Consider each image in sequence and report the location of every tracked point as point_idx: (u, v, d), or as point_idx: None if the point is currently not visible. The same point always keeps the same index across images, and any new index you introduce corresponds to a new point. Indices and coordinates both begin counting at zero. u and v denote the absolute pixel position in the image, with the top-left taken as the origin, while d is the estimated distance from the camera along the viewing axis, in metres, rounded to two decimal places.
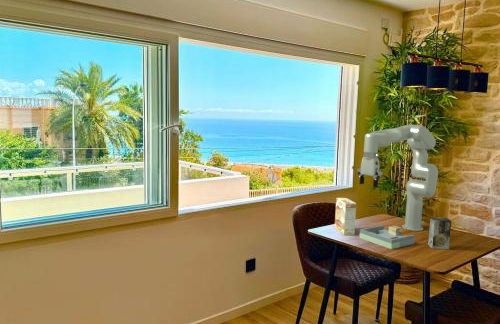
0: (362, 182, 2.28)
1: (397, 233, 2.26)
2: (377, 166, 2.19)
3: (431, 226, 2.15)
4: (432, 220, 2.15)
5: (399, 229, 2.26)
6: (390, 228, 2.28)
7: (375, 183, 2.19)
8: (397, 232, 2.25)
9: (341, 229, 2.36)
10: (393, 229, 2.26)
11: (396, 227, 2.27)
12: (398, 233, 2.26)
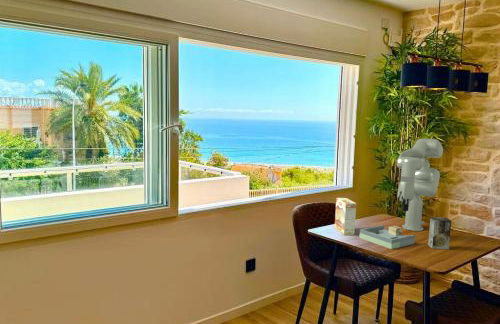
0: None
1: (397, 233, 2.26)
2: None
3: (431, 226, 2.15)
4: (432, 220, 2.15)
5: (399, 229, 2.26)
6: (390, 228, 2.28)
7: None
8: (397, 232, 2.25)
9: (341, 229, 2.36)
10: (393, 229, 2.26)
11: (396, 227, 2.27)
12: (398, 233, 2.26)
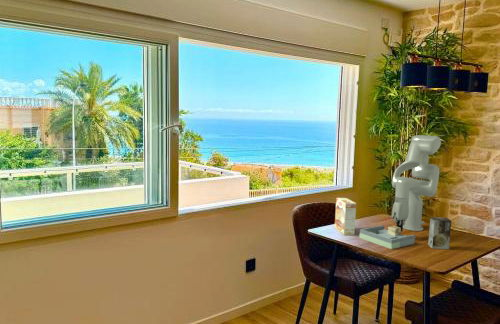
0: None
1: (396, 233, 2.25)
2: None
3: (431, 226, 2.15)
4: (432, 220, 2.15)
5: (398, 229, 2.26)
6: (389, 228, 2.27)
7: None
8: (396, 232, 2.25)
9: (341, 229, 2.36)
10: (392, 229, 2.26)
11: (395, 227, 2.27)
12: (397, 233, 2.26)
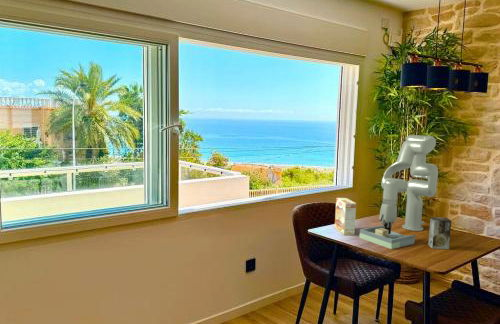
0: None
1: (384, 236, 2.20)
2: None
3: (431, 226, 2.15)
4: (432, 220, 2.15)
5: (386, 232, 2.20)
6: (377, 231, 2.22)
7: None
8: (383, 235, 2.19)
9: (341, 229, 2.36)
10: (380, 232, 2.20)
11: (383, 229, 2.21)
12: (385, 235, 2.20)
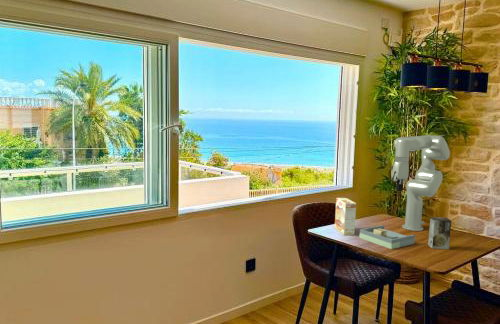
0: None
1: None
2: None
3: (431, 226, 2.15)
4: (432, 220, 2.15)
5: (384, 232, 2.19)
6: (375, 231, 2.21)
7: None
8: (382, 235, 2.18)
9: (341, 229, 2.36)
10: (378, 232, 2.19)
11: (381, 230, 2.21)
12: (383, 236, 2.19)
